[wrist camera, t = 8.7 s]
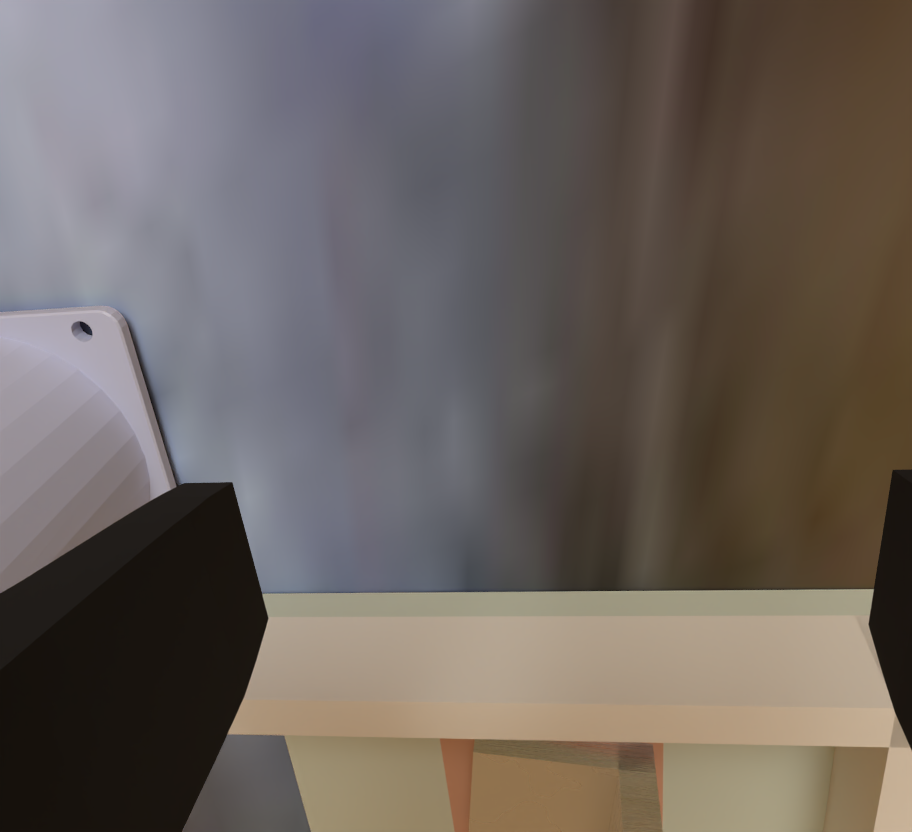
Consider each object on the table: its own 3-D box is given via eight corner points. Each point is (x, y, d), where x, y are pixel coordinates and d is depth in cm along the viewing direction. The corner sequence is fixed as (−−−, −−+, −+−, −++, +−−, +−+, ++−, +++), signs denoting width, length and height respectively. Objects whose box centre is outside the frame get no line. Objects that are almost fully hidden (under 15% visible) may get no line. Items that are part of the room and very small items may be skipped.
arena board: (343, 896, 30) (336, 925, 29) (262, 593, 24) (250, 618, 23) (836, 921, 28) (845, 954, 27) (892, 588, 21) (906, 616, 20)
